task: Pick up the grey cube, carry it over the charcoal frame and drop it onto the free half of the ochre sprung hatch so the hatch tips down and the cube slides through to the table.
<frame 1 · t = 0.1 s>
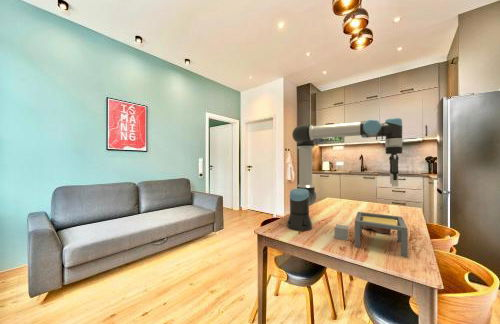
hand: (393, 185, 108), 28 cm above the table, fingers open, 13 cm apart
hatch: (379, 222, 98), point 11 cm above the table, hinge at -1.0°
frame: (379, 243, 98), on the table
rock: (374, 230, 117), on the table
grey cube: (341, 237, 106), on the table
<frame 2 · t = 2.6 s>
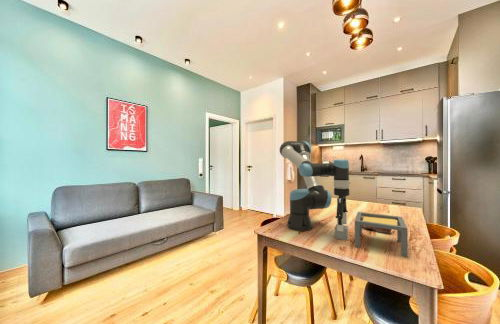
hand: (342, 227, 105), 6 cm above the table, fingers open, 13 cm apart
hatch: (379, 222, 98), point 11 cm above the table, hinge at -2.1°
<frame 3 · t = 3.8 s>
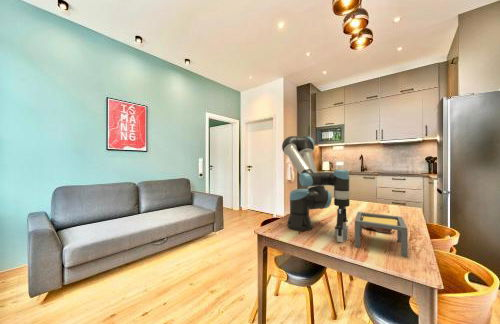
hand: (342, 237, 106), 0 cm above the table, fingers open, 13 cm apart
nothing on the table moved.
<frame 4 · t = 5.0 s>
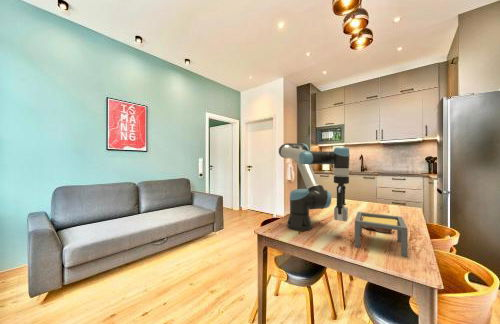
hand: (340, 218, 107), 10 cm above the table, fingers closed on grey cube, 6 cm apart
grey cube: (341, 219, 106), point 10 cm above the table, touching gripper
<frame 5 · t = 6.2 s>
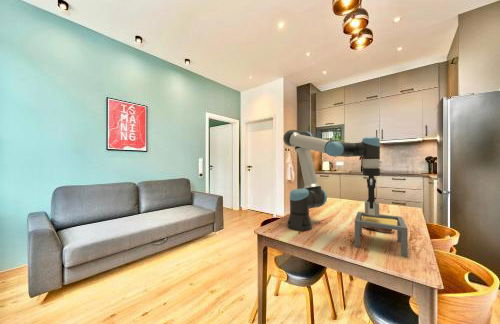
hand: (371, 213, 99), 15 cm above the table, fingers closed on grey cube, 6 cm apart
grey cube: (372, 214, 99), point 14 cm above the table, touching gripper
when the fingers open (12 cm above the table, at t = 6.8 s): grey cube drops 9 cm and tips over, point 3 cm above the table.
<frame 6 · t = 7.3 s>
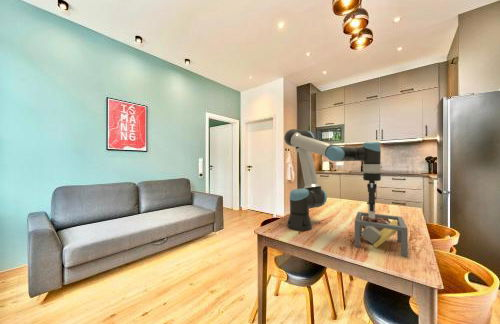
hand: (372, 214, 99), 14 cm above the table, fingers open, 13 cm apart
hatch: (385, 233, 96), point 6 cm above the table, hinge at -50.3°
grey cube: (376, 238, 98), point 3 cm above the table, tilted 56°
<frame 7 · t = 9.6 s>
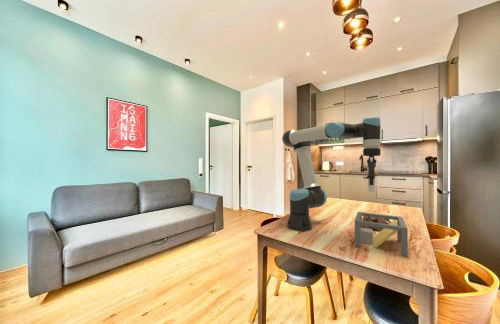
hand: (371, 190, 99), 27 cm above the table, fingers open, 13 cm apart
grey cube: (372, 236, 99), point 3 cm above the table, tilted 90°
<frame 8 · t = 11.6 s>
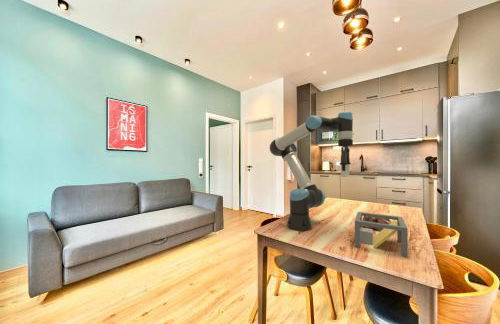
hand: (345, 176, 113), 33 cm above the table, fingers open, 13 cm apart
at the end: grey cube point 2.9 cm above the table; grey cube inside the target area (2.8 cm from its centre), point 2.9 cm above the table; the gripper is holding nothing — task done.
